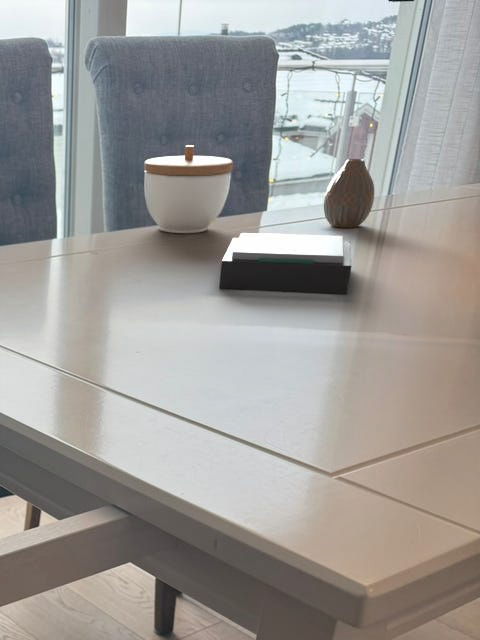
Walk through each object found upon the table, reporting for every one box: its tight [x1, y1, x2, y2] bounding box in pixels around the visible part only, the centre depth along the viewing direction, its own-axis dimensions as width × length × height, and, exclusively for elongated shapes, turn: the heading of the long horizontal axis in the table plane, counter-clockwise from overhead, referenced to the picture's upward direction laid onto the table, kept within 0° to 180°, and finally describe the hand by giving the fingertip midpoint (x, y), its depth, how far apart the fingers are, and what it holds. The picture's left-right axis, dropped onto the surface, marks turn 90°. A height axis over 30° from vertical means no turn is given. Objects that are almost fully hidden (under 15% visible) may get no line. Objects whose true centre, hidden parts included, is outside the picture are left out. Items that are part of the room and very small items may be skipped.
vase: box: [323, 158, 375, 229], centre depth 136 cm, size 7×7×9 cm
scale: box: [218, 232, 352, 295], centre depth 110 cm, size 14×14×4 cm
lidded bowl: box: [143, 144, 234, 234], centre depth 136 cm, size 13×13×11 cm
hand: (401, 1), depth 117 cm, fingers open, 13 cm apart
